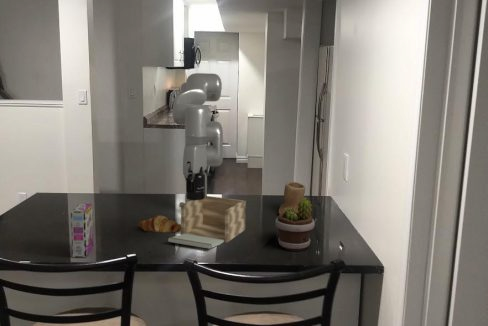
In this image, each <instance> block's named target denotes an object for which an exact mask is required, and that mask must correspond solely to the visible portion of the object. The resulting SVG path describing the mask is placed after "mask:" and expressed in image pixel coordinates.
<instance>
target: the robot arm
mask: <svg viewBox="0 0 488 326" xmlns="http://www.w3.org/2000/svg"><path fill="white" fill-rule="evenodd" d="M222 84H223V83H222V79H221V77H220V75H218V74H217V73H205V72H204V73H203V72H201V73H200V72H196V73H192V74H190V75H188V76H187V78H186V81H185V82H183V83H182V84H181V85H180V94H178V95H177V96H176V97H175V99H174V100H173V104H172V111H171V112H172V113H171V116H172V121H173V122H174V124H175V125H179V126H184V150H183V157H182V174H183V176H184V180H185V193H186V192H191V193H194V192H195V182H194V177H195V174H197V173H199V171H200V167H202V168H203V171H202V173H203V174H204V175H205V196H208V177H207V169H208V167H220V166H221V165H222V164H223V158H224V147H223V146H224V143H223V142H224V139H223V138H224V137H223V136H224V135H223V134H224V132H223V127H222V124H221V123H220V122H219V121H215V120H214V121H213V120H212V116H213V115H212V110H211V108H210V107H209V106H208V105H206V104H205V103H206V102H218V101H219V100H220V98H221V94H222V89H223V86H222ZM207 143H212V145H211V144H210V145H209V144H208V145H207ZM190 171H191V172H192V173H191V172H190ZM190 175H192V177H191V176H190ZM188 201H190V200H189V199H187V198H186V197H185V202H184V201H180V202H179V207H178V208H181V205H182V204H184V203H186V202H188Z"/></svg>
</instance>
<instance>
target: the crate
mask: <svg viewBox="0 0 488 326" xmlns="http://www.w3.org/2000/svg"><path fill="white" fill-rule="evenodd" d="M246 202H247V201H246V200H243V199H234V198H227V197H226V198H225V197H219V196H218V197H217V196H209V195H207V196H205V198H204V199H203V200H190V201H188V202H186V201H185V202H184V204H182V205H181V207H180V225H181V232H180V235H182V234H190V235H196V236H202V237H209V238H215V239H221V240H224V242H225V243H229V242H230V241H232V240H233V239H235V238H236V237H237V236H239V235H240V234H242V233H243V232H244V231H245V230H246V219H247V218H246V209H247V208H246V207H247V203H246Z"/></svg>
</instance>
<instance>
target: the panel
mask: <svg viewBox="0 0 488 326" xmlns="http://www.w3.org/2000/svg"><path fill="white" fill-rule="evenodd" d="M167 240H168V243H174V244H181V245H186V246H191V247H197V248H204V249H208V250H209V249H212V248H214V247H215V248H216V247H218V246H220V245H221V244H223V243H224V242H225V241H224V240H221V239H215V238H209V237H202V236H196V235H190V234H182V235H181V234H179V235H176V236H175V235H174V236H171V237H169V238H168V239H167Z"/></svg>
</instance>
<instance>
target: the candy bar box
mask: <svg viewBox="0 0 488 326" xmlns="http://www.w3.org/2000/svg"><path fill="white" fill-rule="evenodd" d="M93 213H94V211H93V203H78V204H77V205H76V206H75V208H74V209H72V210H71V211H70V222H71V223H70V224H71V225H70V226H71V254H72V255H71V256H72V258H75V257H84V258H87V257H88V255H89V254H88V253H90V252H91V251H92V249H93V248H94V225H93V223H94V222H93V221H94V219H93V216H94V215H93ZM92 247H93V248H92ZM90 250H91V251H90Z"/></svg>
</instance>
